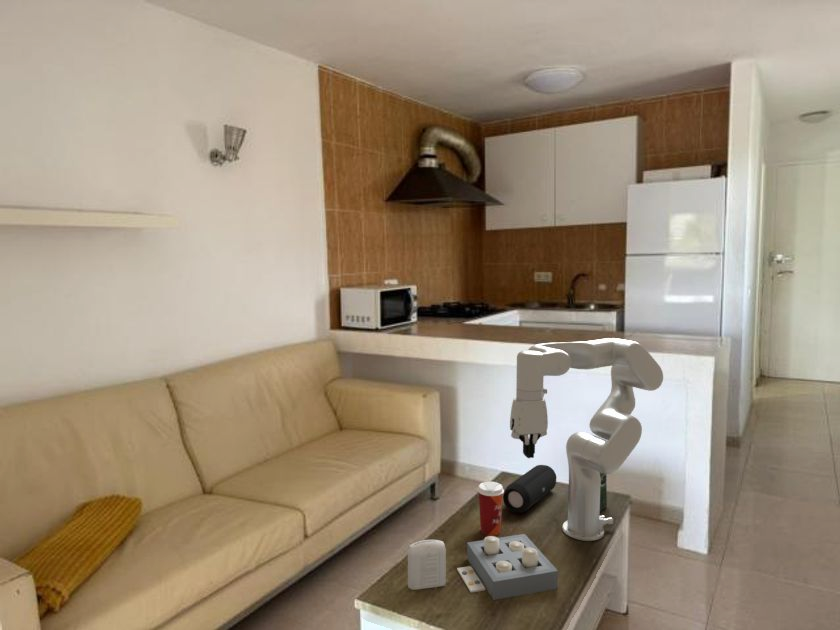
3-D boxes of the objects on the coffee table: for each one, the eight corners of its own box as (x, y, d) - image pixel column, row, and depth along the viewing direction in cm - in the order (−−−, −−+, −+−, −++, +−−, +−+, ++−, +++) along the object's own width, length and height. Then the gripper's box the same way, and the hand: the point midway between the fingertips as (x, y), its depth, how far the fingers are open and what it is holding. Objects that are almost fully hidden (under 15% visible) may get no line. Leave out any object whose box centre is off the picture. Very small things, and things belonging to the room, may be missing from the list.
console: (524, 549, 169) (524, 533, 168) (557, 588, 149) (557, 570, 149) (466, 558, 164) (467, 542, 163) (493, 600, 145) (493, 581, 144)
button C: (495, 550, 162) (495, 534, 161) (501, 558, 158) (501, 541, 157) (481, 553, 161) (481, 536, 160) (487, 560, 157) (487, 544, 156)
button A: (519, 555, 164) (520, 539, 164) (526, 563, 160) (526, 547, 160) (506, 557, 163) (506, 541, 163) (512, 565, 159) (512, 549, 159)
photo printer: (443, 577, 155) (443, 534, 153) (447, 586, 151) (447, 542, 149) (406, 583, 153) (405, 539, 151) (409, 592, 149) (409, 547, 147)
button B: (533, 562, 156) (533, 545, 155) (540, 571, 152) (540, 553, 151) (519, 565, 155) (519, 548, 154) (525, 573, 151) (526, 556, 150)
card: (470, 567, 160) (470, 565, 160) (485, 590, 149) (485, 587, 149) (457, 569, 159) (457, 567, 159) (470, 592, 148) (470, 590, 148)
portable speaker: (526, 519, 188) (527, 490, 187) (500, 511, 194) (500, 482, 193) (558, 492, 208) (559, 466, 207) (533, 485, 214) (533, 460, 213)
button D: (507, 576, 154) (507, 559, 154) (514, 584, 150) (514, 567, 150) (493, 578, 153) (493, 561, 153) (499, 587, 149) (499, 569, 149)
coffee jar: (589, 499, 202) (590, 448, 200) (610, 506, 196) (611, 454, 194) (574, 508, 195) (576, 456, 193) (596, 515, 190) (597, 462, 187)
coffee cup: (502, 539, 175) (503, 492, 173) (476, 536, 176) (476, 490, 175) (504, 526, 183) (504, 481, 181) (478, 523, 185) (478, 479, 183)
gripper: (547, 389, 168) (546, 449, 170) (500, 393, 164) (499, 454, 166) (559, 395, 160) (558, 458, 163) (510, 399, 157) (510, 464, 159)
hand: (528, 456), depth 164 cm, fingers closed
